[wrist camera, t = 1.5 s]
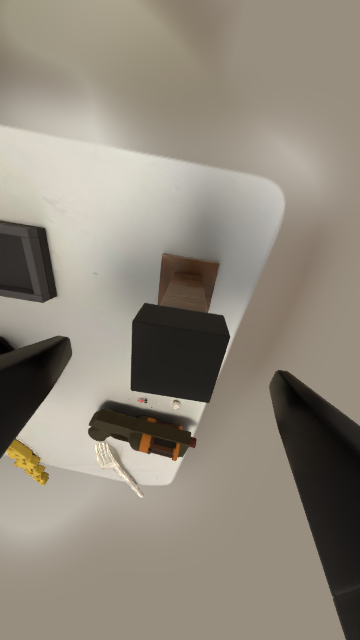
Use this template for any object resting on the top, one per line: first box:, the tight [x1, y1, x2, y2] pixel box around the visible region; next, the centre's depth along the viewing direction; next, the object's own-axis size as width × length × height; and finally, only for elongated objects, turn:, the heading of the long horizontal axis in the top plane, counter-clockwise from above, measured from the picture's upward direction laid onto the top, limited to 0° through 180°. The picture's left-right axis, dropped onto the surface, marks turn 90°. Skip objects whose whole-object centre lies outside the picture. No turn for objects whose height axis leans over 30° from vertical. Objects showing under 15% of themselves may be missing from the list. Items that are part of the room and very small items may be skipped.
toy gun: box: [88, 409, 196, 461], centre depth 30 cm, size 5×17×10 cm
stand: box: [158, 254, 219, 313], centre depth 15 cm, size 6×6×11 cm
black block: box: [131, 303, 230, 403], centre depth 9 cm, size 4×4×2 cm
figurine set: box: [128, 399, 180, 409], centre depth 28 cm, size 1×8×1 cm
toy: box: [6, 439, 49, 485], centre depth 39 cm, size 15×1×5 cm
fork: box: [95, 442, 144, 498], centre depth 38 cm, size 3×20×2 cm, turn 18°
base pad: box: [0, 221, 57, 303], centre depth 19 cm, size 7×7×2 cm
